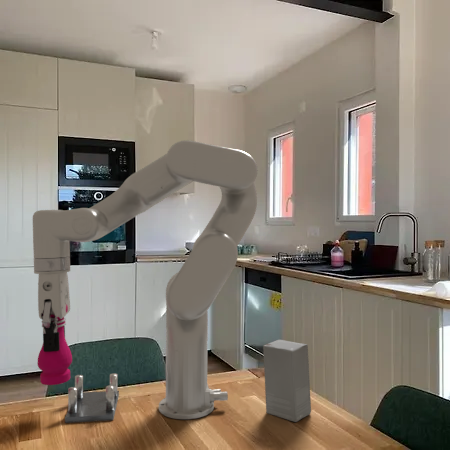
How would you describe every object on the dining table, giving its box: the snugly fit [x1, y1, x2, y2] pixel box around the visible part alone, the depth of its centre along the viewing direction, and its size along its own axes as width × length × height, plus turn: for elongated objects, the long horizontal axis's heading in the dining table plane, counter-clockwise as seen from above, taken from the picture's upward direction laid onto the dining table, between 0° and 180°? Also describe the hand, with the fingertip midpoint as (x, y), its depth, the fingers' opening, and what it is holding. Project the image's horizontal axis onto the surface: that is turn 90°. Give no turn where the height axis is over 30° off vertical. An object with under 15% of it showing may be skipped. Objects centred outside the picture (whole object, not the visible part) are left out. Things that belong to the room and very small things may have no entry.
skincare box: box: [262, 338, 312, 423], centre depth 101 cm, size 8×7×16 cm
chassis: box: [64, 373, 120, 424], centre depth 103 cm, size 10×14×6 cm
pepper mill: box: [37, 305, 73, 386], centre depth 100 cm, size 7×7×20 cm
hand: (54, 346), depth 100 cm, fingers closed on pepper mill, 5 cm apart
